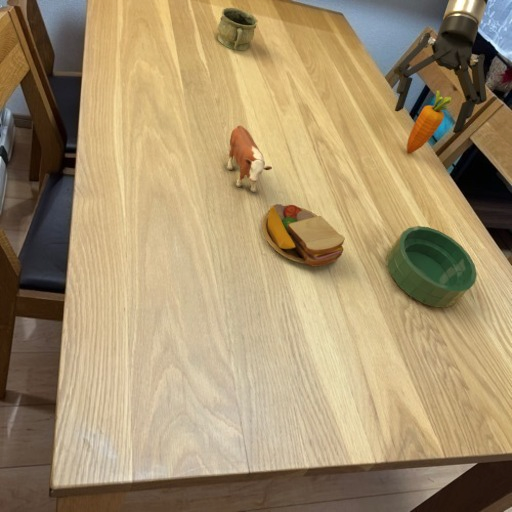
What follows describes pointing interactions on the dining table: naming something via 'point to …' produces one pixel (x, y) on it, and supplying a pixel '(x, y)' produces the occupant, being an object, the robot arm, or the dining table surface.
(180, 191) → the dining table surface
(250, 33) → the vessel
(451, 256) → the bowl
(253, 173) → the bull figurine
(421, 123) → the carrot
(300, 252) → the toy sandwich meal
